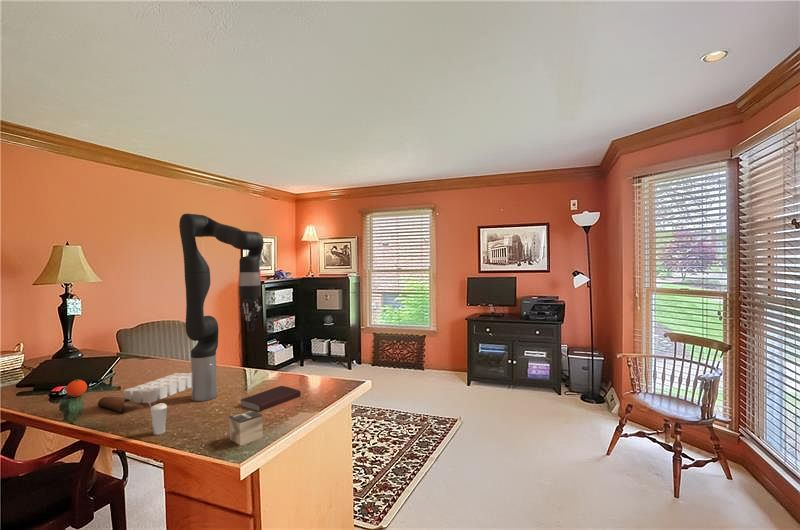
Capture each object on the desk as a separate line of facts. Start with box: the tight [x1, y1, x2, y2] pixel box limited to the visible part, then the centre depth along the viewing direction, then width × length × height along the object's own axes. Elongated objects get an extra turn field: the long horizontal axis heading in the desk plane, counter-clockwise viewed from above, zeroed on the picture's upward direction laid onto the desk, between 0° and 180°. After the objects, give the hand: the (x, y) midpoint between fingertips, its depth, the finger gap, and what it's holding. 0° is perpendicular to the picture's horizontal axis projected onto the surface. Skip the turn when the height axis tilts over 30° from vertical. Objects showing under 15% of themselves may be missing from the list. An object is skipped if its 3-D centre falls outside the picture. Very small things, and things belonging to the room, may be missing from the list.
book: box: [239, 385, 302, 413], centre depth 152 cm, size 12×19×3 cm, turn 145°
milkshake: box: [147, 402, 168, 436], centre depth 124 cm, size 4×5×10 cm
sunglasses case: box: [97, 396, 145, 415], centre depth 149 cm, size 18×7×7 cm
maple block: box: [228, 409, 264, 446], centre depth 118 cm, size 7×7×7 cm
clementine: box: [65, 379, 88, 398], centre depth 164 cm, size 8×7×7 cm
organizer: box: [122, 372, 192, 404], centre depth 171 cm, size 13×5×35 cm
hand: (250, 330), depth 144 cm, fingers closed
